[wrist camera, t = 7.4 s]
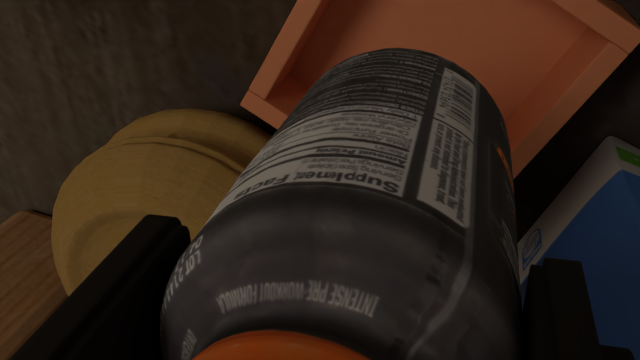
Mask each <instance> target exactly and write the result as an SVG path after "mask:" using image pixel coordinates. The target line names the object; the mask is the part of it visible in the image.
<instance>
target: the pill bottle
mask: <svg viewBox="0 0 640 360" xmlns="http://www.w3.org/2000/svg"><path fill="white" fill-rule="evenodd" d="M160 343H161V351H162V355H163V360H525V353H524V340H523V312H522V296H521V286H520V276H519V260H518V245H517V231H516V206H515V199H514V183H513V173H512V161H511V150H510V144H509V139H508V134H507V129H506V125H505V122H504V118H503V116H502V114H501V112H500V110H499V108H498V106H497V105H496V103H495V101H494V100H493V98H492V97H491V95H490V94H489V92H488V91H487V89H486V88H485V87H484V86H483V85H482V84H481V83H480V82H479V81H478V80H477V79H476V78H475V77H474V76H473V75H471V74H470V73H469V72H468V71H466V70H465V69H463V68H462V67H460V66H459V65H457V64H456V63H454V62H452V61H450V60H447V59H445V58H443V57H441V56H438V55H436V54H433V53H429V52H425V51H421V50H416V49H408V48H385V49H379V50H374V51H369V52H365V53H361V54H358V55H355V56H352V57H350V58H348V59H346V60H344V61H342V62H340V63H339V64H337V65H335V66H334V67H332V68H331V69H330V70H328V71H327V72H326V73H325V74H324V75H322V76H321V77H320V78H319V79H318V80H317V81H316V83H315V84H314V85H313V86H312V87H311V88H310V89H309V90H308V92H307V93H306V94H305V96H304V97H303V98H302V99H301V100H300V101H299V103H298V104H297V106H296V107H295V108H294V110H293V111H292V112H291V113H290V115H289V116H288V117H287V119H286V120H285V121H284V122H283V123H282V125H281V126H280V128H279V129H278V130H277V131H276V132H275V133H274V135H273V136H272V137H271V139H270V140H269V141H268V142H267V143H266V144H265V146H264V147H263V148H262V149H261V151H260V152H259V153H258V154H257V155H256V157H255V158H254V159H253V160H252V162H251V163H250V164H249V165H248V167H247V168H246V169H245V170H244V171H243V173H242V174H241V175H240V176H239V177H238V178H237V180H236V181H235V183H234V184H233V186H232V187H231V189H230V191H229V192H228V193H227V194H226V196H225V197H224V199H223V200H222V202H221V203H220V204H219V206H218V207H217V208H216V210H215V211H214V213H213V214H212V215H211V217H210V218H209V220H208V221H207V222H206V224H205V225H204V226H203V228H202V229H201V230H200V232H199V233H198V234H197V236H196V237H195V238H194V239H193V240H192V242H191V243H190V245H189V246H188V247H187V249H186V250H185V251H184V253H183V254H182V255H181V256H180V258H179V260H178V262H177V264H176V266H175V268H174V270H173V272H172V274H171V276H170V279H169V281H168V284H167V286H166V290H165V293H164V297H163V302H162V306H161V312H160Z"/></svg>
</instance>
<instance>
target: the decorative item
mask: <svg viewBox="0 0 640 360" xmlns="http://www.w3.org/2000/svg"><path fill="white" fill-rule="evenodd" d="M52 218H53V217H50V216H47V215H43V214H40V213H37V212H34V211H31V210H22V211H19V212H16V213H15V214H14V215H12V216H11V217H10V218H9V219H7V220H6V221H5V222H3V223H2V224H1V225H0V360H9V359H10V358H11V357H12V356H13V355H14V354H15V352H16V351H17V350H18V349H19V348H20V347H21V346H22V345H23V344H24V343H25V342H26V341H27V340H28V339H29V338H30V337H31V336H32V335H33V333H34V332H35V331H36V330H37V329H38V328H39V327H40V326H41V325H42V324H43V323H44V322H45V321H46V320H47V319H48V318H49V317H50V316H51V315H52V313H53V312H54V311H55V310H56V309H57V308H58V307H59V306H60V305H61V304H62V303H63V302H64V301H65V300H66V299H67V298H68V297H69V296H68V295H67V293H66V291H65V289H64V287H63V284H62V282H61V279H60V277H59V275H58V272H57V269H56V266H55V261H54V255H53V249H52V243H51V230H52Z"/></svg>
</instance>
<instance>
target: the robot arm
mask: <svg viewBox="0 0 640 360" xmlns="http://www.w3.org/2000/svg"><path fill="white" fill-rule="evenodd" d="M190 243H191V238H190V232H189V229H188V227H187V226H184V225H182V224H181V221H180V220H179V218H177V217H171V216H162V215H153V214H149V215H146V216H145V217H143V219H142V220H141V221H140V222H139V223H138V224H137V225H136V226H135V227H134V228H133V229H132V230H131V231H130V232H129V233H128V234H127V235H126V236H125V238H124V239H123V240H122V241H121V242H120V243H119V244H118V245H117V246H116V247H115V248H114V249H113V250H112V251H111V252H110V253H109V254H108V255H107V257H106V258H105V259H104V260H103V261H102V262H101V263H100V264H99V265H98V266H97V267H96V268H95V269H94V270H93V271H92V272H91V273H90V274H89V275H88V277H87V278H86V279H85V280H84V281H83V282H82V283H81V284H80V285H79V286H78V287H77V288H76V289H75V290H74V291H73V292H72V293H71V294H70V296H69V297H68V298H67V299H66V300H65V301H64V302H63V303H62V304H61V305H60V306H59V307H58V308H57V309H56V310H55V311H54V312H53V313H52V315H51V316H50V317H49V318H48V319H47V320H46V321H45V322H44V323H43V324H42V325H41V326H40V327H39V328H38V329H37V330H36V331H35V332H34V333H33V335H32V336H31V337H30V338H29V339H28V340H27V341H26V342H25V343H24V344H23V345H22V346H21V347H20V348H19V349H18V350H17V351H16V352H15V354H14V355H13V356H12V357H11V358H10V359H9V360H163V355H162V351H161V343H160V312H161V306H162V302H163V297H164V293H165V290H166V286H167V284H168V281H169V279H170V276H171V274H172V272H173V270H174V268H175V266H176V264H177V262H178V260H179V258H180V256H181V255H182V254H183V253H184V251H185V250H186V249H187V247H188V246H189V245H190ZM523 340H524V353H525V360H635V359H634V356H633V354H632V352H631V351H630V350H629V349H628V348H622V347H615V346H607V345H600V344H599V340H598V336H597V331H596V326H595V322H594V317H593V313H592V308H591V304H590V299H589V294H588V290H587V285H586V281H585V276H584V272H583V267H582V264H581V262H580V261H576V260H567V259H557V258H548V257H545V258H544V260H543V264H542V265H533V264H531V265H530V269H529V275H528V281H527V287H526V293H525V300H524V306H523Z"/></svg>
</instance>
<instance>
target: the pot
mask: <svg viewBox="0 0 640 360" xmlns="http://www.w3.org/2000/svg"><path fill="white" fill-rule="evenodd" d="M271 137H272V135H270V134H268V133H267V132H265V131H264V130H262V129H261V128H259V127H257V126H256V125H254V124H253V123H250V122H248V121H245V120H243V119H240V118H238V117H235V116H232V115H230V114H227V113H224V112H217V111H211V110H205V109H198V108H185V109H171V110H163V111H160V112H157V113H154V114H151V115H147V116H144V117H141V118H138V119H136V120H135V121H133V122H132V123H130V124H129V125H127V126H126V127H124V128H123V129H121V130H120V131H118V132H117V133H116V134H115V135H114V136H113V137H112V138H111V140H110V141H109V142H108V143H107V145H104V146H103V147H101V148H100V149H98V150H97V151H95V152H94V153H92V154H91V155H89V156H88V157H86V158H85V159H84V160H83V161H82V162H81V163H80V164H79V165H77V166H76V167H75V169H74V170H73V171H72V172H71V174H70V175H69V176H68V178H67V179H66V180H65V181H64V183H63V184H62V185H61V188H60V191H59V194H58V196H57V199H56V202H55V205H54V208H53V218H52V230H51V243H52V249H53V255H54V261H55V266H56V269H57V272H58V275H59V277H60V279H61V282H62V284H63V287H64V289H65V291H66V293H67V295H68V296H70V294H71V293H72V292H73V291H74V290H75V289H76V288H77V287H78V286H79V285H80V284H81V283H82V282H83V281H84V280H85V279H86V278H87V277H88V275H89V274H90V273H91V272H92V271H93V270H94V269H95V268H96V267H97V266H98V265H99V264H100V263H101V262H102V261H103V260H104V259H105V258H106V257H107V255H108V254H109V253H110V252H111V251H112V250H113V249H114V248H115V247H116V246H117V245H118V244H119V243H120V242H121V241H122V240H123V239H124V238H125V236H126V235H127V234H128V233H129V232H130V231H131V230H132V229H133V228H134V227H135V226H136V225H137V224H138V223H139V222H140V221H141V220H142V219H143V217H145V216H146V215H149V214H153V215H162V216H171V217H177V218H179V220H180V221H181V224H182V225H184V226H187V227H188V229H189V232H190V238H191V242H192V240H193V239H194V238H195V237H196V236H197V234H198V233H199V232H200V230H201V229H202V228H203V226H204V225H205V224H206V222H207V221H208V220H209V218H210V217H211V215H212V214H213V213H214V211H215V210H216V208H217V207H218V206H219V204H220V203H221V202H222V200H223V199H224V197H225V196H226V194H227V193H228V192H229V191H230V189H231V187H232V186H233V184H234V183H235V181H236V180H237V178H238V177H239V176H240V175H241V174H242V173H243V171H244V170H245V169H246V168H247V167H248V165H249V164H250V163H251V162H252V160H253V159H254V158H255V157H256V155H257V154H258V153H259V152H260V151H261V149H262V148H263V147H264V146H265V144H266V143H267V142H268V141H269V140H270V139H271Z"/></svg>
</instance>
